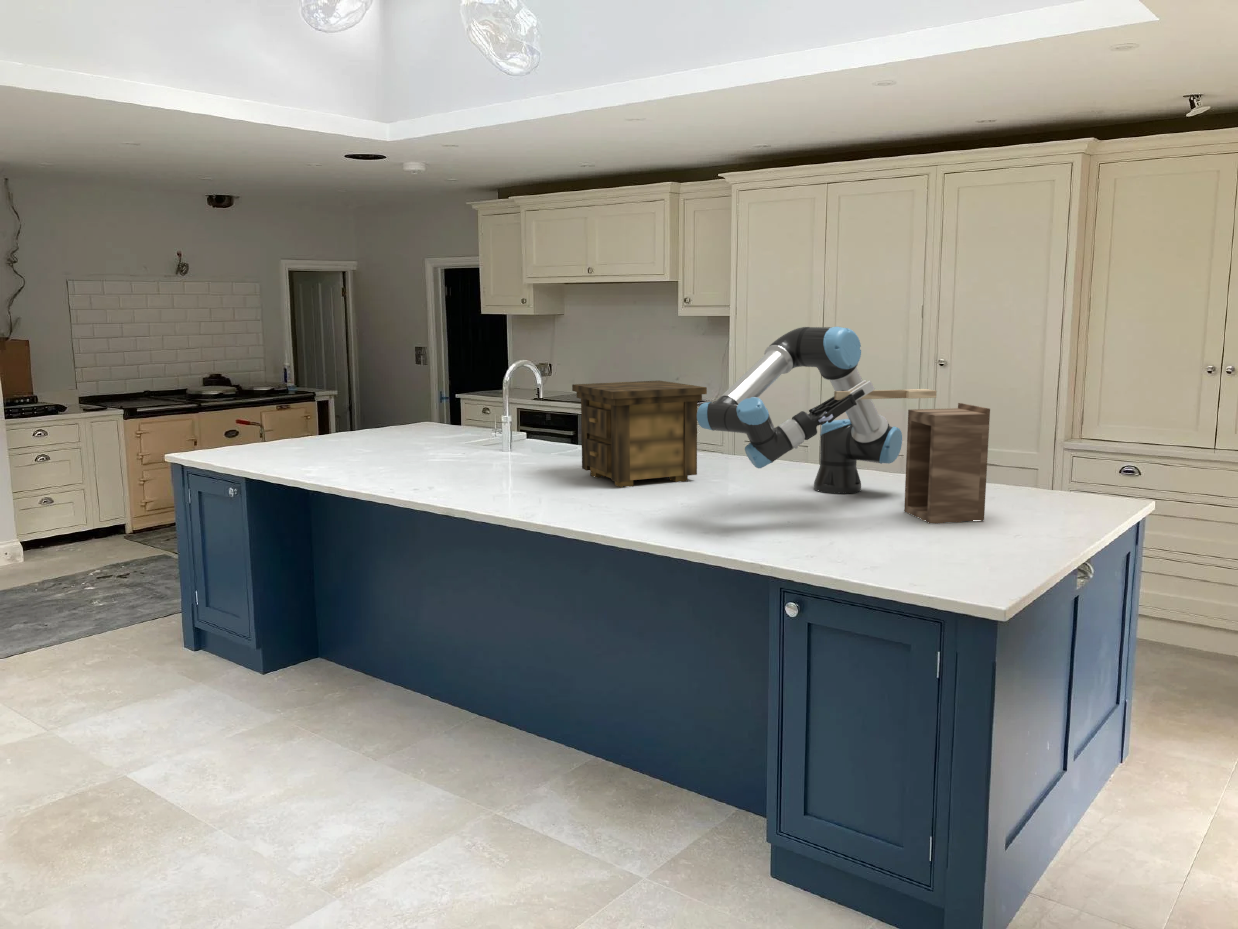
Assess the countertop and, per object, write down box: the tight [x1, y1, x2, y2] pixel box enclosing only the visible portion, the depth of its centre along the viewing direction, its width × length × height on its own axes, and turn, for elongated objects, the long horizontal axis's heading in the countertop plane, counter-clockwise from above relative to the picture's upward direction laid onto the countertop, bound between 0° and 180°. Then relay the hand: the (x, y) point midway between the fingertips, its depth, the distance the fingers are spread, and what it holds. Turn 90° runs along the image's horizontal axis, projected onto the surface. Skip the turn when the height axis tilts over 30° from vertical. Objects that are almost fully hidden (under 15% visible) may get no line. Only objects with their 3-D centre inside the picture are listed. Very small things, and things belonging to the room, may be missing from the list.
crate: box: [571, 380, 708, 488], centre depth 336 cm, size 35×35×33 cm
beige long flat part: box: [833, 388, 938, 400], centre depth 264 cm, size 6×28×2 cm, turn 100°
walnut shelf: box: [903, 402, 991, 524], centre depth 271 cm, size 16×16×32 cm
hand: (869, 384), depth 263 cm, fingers closed on beige long flat part, 2 cm apart
